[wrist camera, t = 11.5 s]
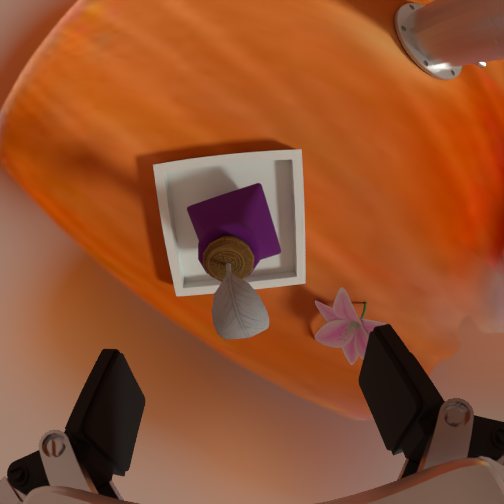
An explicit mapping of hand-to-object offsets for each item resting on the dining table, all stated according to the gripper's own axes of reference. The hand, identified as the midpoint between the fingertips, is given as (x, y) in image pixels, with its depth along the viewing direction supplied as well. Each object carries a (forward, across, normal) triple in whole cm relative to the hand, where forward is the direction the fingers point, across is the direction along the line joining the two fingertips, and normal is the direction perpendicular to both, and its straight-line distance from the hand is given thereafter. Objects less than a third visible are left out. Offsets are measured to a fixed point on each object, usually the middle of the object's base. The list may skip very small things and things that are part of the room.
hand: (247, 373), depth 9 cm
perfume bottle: (+22, +1, 0) cm, 22 cm away
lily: (+23, -12, +15) cm, 30 cm away
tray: (+23, +1, +1) cm, 23 cm away
